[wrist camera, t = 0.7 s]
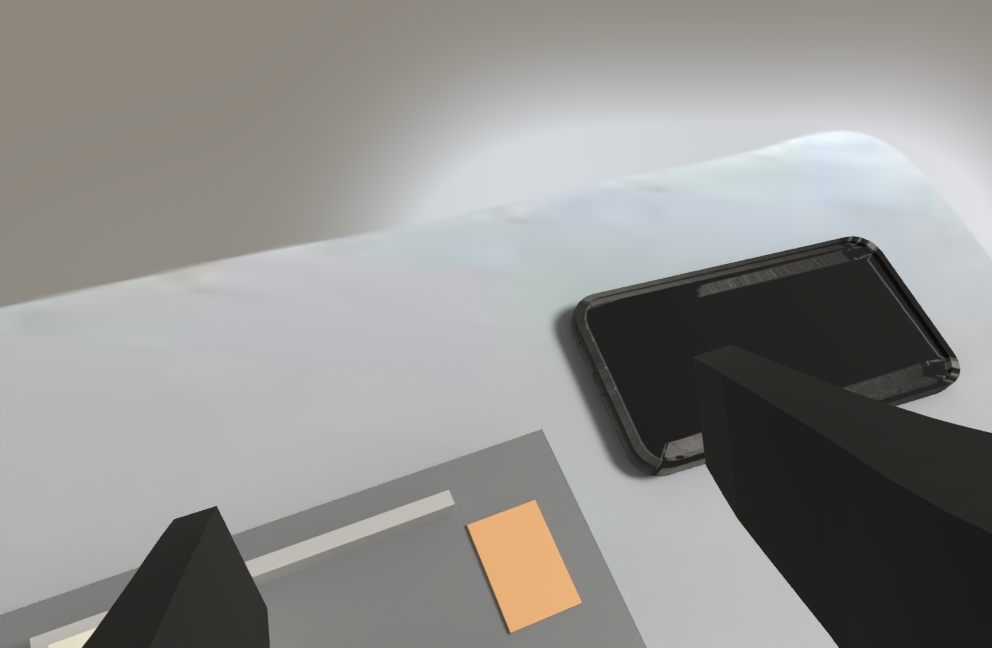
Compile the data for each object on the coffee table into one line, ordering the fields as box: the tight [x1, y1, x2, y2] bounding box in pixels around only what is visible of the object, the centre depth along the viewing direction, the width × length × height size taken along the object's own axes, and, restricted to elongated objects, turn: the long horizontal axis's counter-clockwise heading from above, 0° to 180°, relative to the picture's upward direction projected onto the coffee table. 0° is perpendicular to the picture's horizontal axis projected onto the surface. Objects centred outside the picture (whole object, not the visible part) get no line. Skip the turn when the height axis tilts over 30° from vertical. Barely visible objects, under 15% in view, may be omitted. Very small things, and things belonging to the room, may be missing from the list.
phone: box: [571, 236, 960, 476], centre depth 33 cm, size 8×1×15 cm
